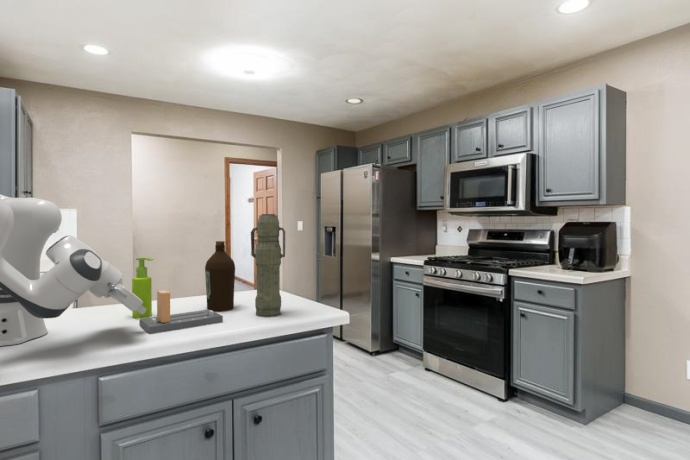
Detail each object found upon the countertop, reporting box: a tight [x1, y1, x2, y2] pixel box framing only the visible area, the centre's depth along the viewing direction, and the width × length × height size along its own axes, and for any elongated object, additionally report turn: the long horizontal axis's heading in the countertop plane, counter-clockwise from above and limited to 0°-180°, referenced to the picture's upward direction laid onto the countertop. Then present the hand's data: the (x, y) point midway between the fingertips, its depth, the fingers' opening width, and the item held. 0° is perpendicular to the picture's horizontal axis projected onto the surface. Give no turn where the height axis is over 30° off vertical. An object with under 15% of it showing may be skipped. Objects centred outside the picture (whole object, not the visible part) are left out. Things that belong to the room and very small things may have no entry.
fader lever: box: [156, 290, 171, 323], centre depth 126 cm, size 2×5×9 cm, turn 39°
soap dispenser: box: [131, 257, 154, 319], centre depth 141 cm, size 6×7×20 cm
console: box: [138, 309, 224, 335], centre depth 132 cm, size 22×12×4 cm, turn 129°
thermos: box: [250, 213, 286, 318], centre depth 145 cm, size 9×12×35 cm
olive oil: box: [204, 240, 236, 313], centre depth 153 cm, size 11×11×25 cm
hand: (143, 311), depth 123 cm, fingers closed
